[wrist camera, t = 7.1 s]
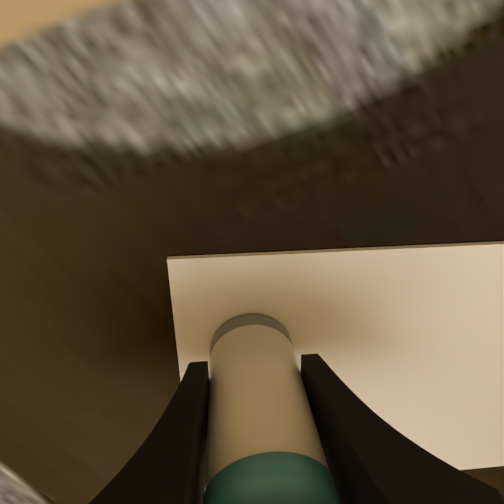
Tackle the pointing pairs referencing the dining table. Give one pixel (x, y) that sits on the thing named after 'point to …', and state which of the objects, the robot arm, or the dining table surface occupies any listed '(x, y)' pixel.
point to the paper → (374, 330)
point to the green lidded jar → (261, 420)
